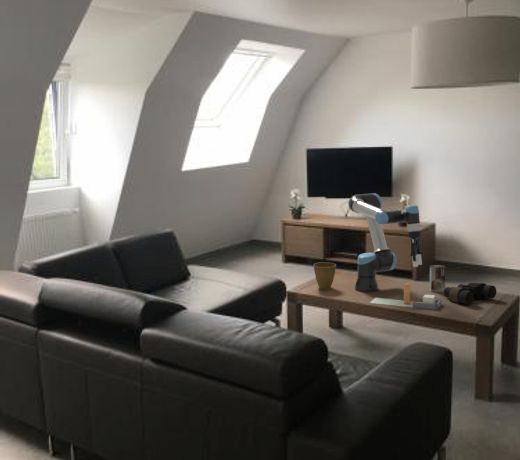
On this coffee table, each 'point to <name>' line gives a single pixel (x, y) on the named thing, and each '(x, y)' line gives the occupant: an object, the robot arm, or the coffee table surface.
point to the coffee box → (437, 278)
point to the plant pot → (324, 274)
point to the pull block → (407, 301)
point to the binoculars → (469, 292)
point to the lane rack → (414, 304)
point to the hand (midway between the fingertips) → (417, 265)
